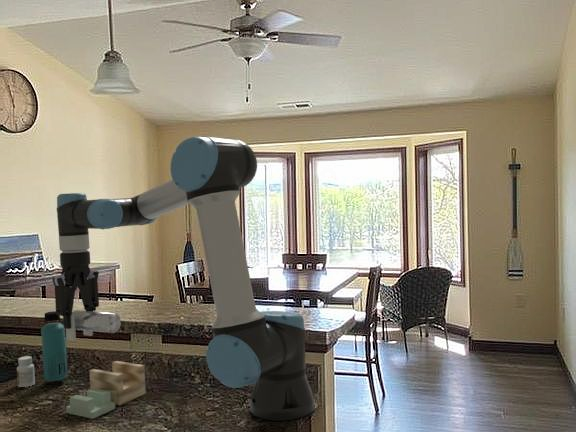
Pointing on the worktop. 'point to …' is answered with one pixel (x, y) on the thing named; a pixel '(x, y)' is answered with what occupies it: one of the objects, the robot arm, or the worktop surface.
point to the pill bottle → (25, 372)
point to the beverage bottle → (54, 349)
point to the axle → (96, 321)
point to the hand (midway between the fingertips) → (79, 337)
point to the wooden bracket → (120, 381)
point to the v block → (91, 404)
